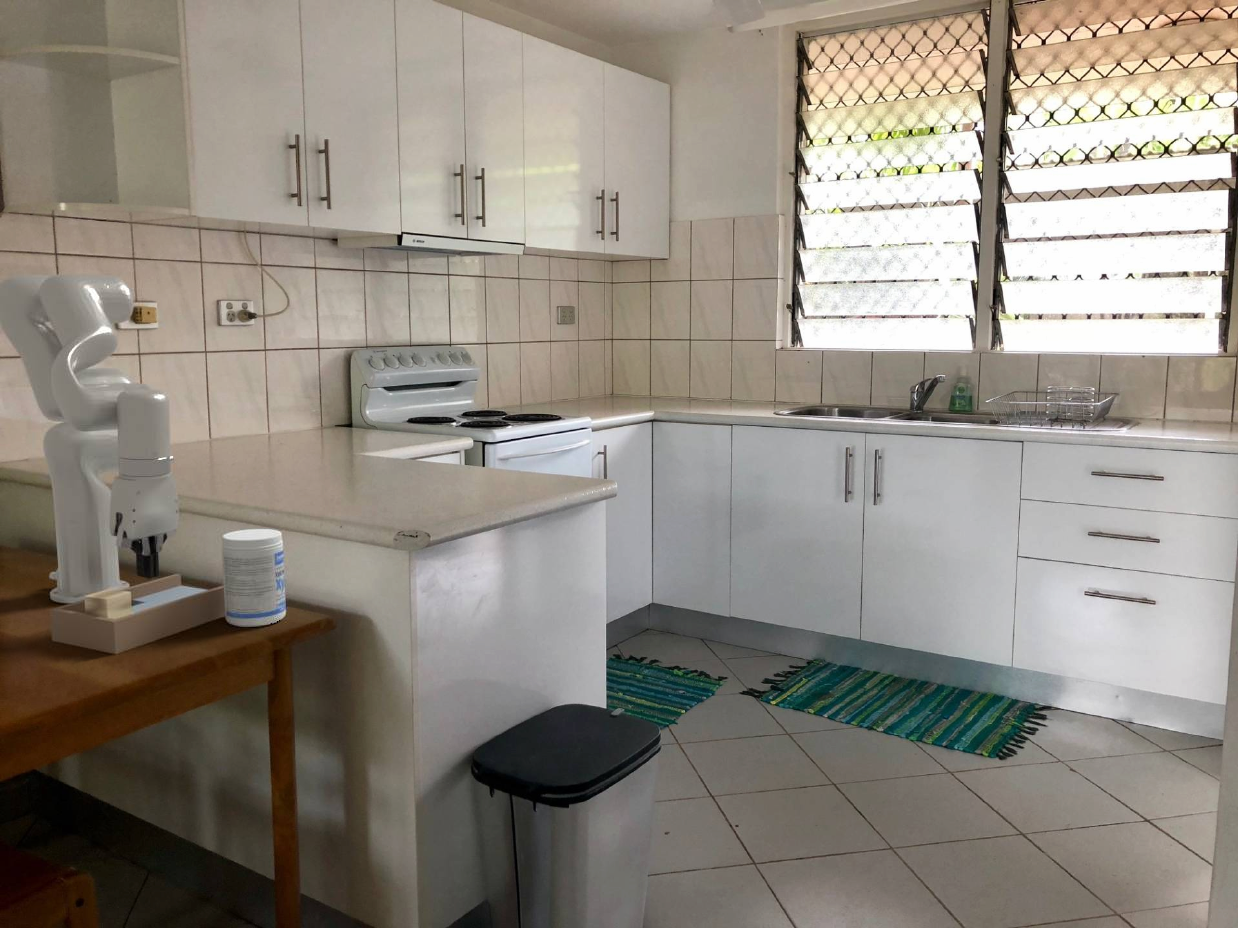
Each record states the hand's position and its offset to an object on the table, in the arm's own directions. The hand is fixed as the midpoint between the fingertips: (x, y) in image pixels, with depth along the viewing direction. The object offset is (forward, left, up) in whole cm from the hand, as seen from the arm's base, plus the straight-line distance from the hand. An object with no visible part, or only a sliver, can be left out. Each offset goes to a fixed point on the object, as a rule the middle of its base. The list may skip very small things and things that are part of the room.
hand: (147, 575), depth 159 cm
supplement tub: (+14, +9, -8) cm, 19 cm away
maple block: (+2, -9, -5) cm, 11 cm away
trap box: (+1, -1, -8) cm, 8 cm away
